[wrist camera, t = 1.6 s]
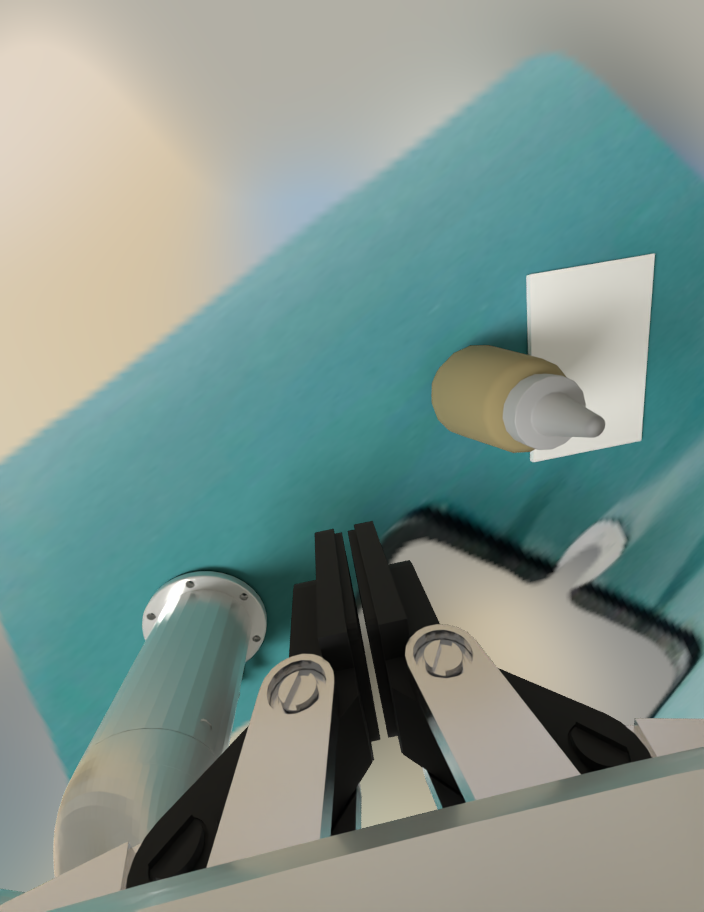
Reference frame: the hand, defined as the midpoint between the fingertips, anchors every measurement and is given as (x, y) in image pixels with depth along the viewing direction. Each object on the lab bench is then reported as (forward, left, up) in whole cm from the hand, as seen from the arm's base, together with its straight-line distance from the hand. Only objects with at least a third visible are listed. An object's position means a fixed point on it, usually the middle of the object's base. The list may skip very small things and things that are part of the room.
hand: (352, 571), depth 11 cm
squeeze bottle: (0, -14, -26) cm, 30 cm away
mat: (0, -27, -26) cm, 37 cm away
